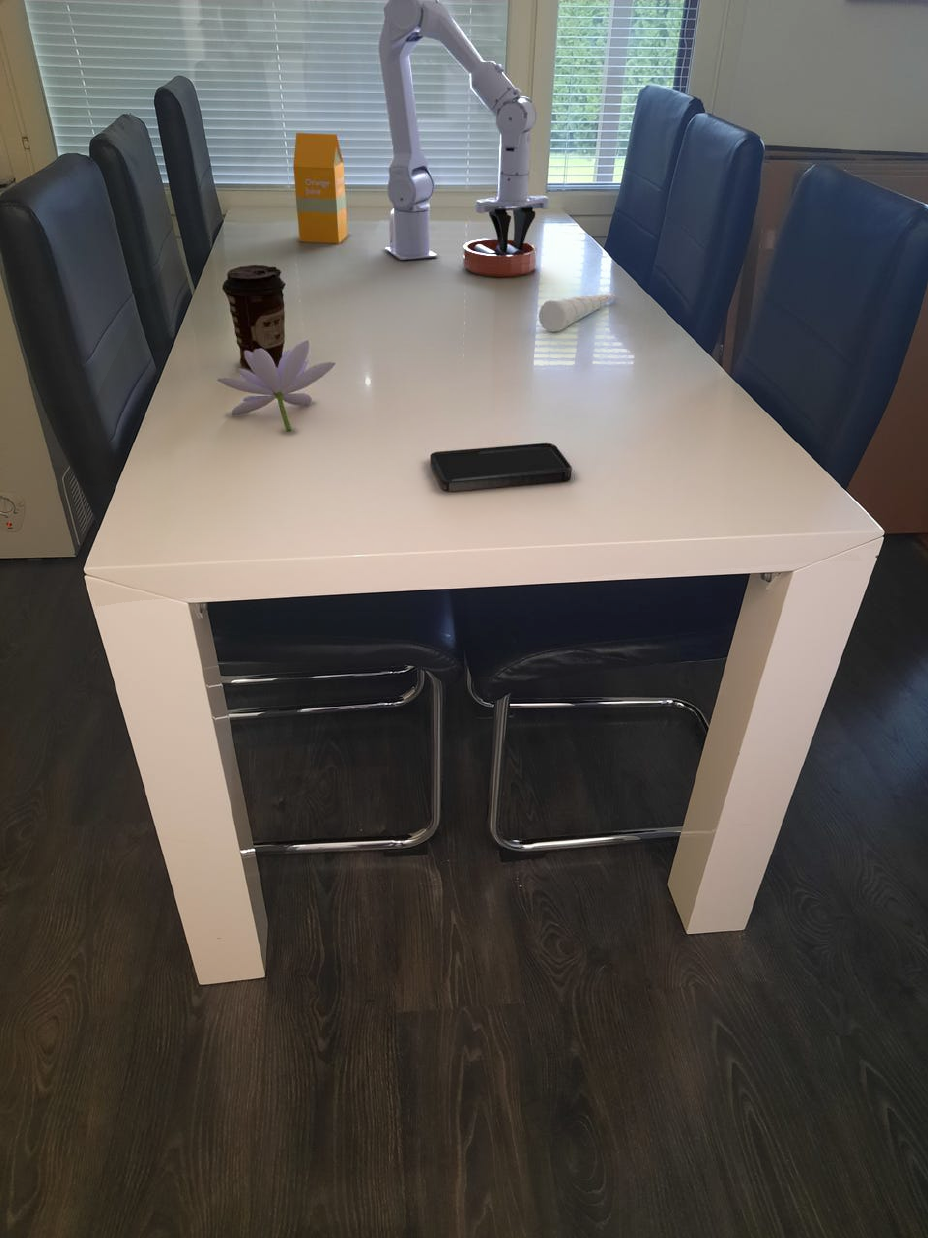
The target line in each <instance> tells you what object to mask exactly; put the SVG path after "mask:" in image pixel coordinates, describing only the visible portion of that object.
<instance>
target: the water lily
mask: <svg viewBox="0 0 928 1238" xmlns="http://www.w3.org/2000/svg"><path fill="white" fill-rule="evenodd" d="M309 350H310V341H309V340H307V339H306V340H304V341H301V342H300V343H299V344H297V345H296V346H295V347H294V348H292V349H288V350H287V351H285V352H284V353H283V354H282V358H281V359H280V362H279V365H278V369H277V368H276V366H275V364H274V361H273V359H272V357H271V356H270V355H269V354H268V353H267V352H266V351H265V350H263V349H261V348H260V349H255V350H254V352H253V353H252V352H250V351H244V355H245V358H246V361H247V363H248V364H249V366H250V368H251V369H252V371H248V370H245V369H244V368H240V367H239V368H236V371H237V372H238V374H240V376H241V377H242V379H241V378H236V377H220V378H217V379H216V381H217V382H218V383H221V384H223V385H225V386H227V387H230V388H231V389H234V390H238V391H241V392H245V393H249V394H256V395H249V396H245V397H244V398H243V399H242V402H241V403H240V404H238V405H237V406H235V407H234V408H233V409H232V411H231V416H238V415H244V414H249V413H252V412H255V411H258V410H260V409H262V408H264V407H266V406H267V405H269V404H270V403H272V402H273V401H274V400H275V399H277V403H278V406H279V410H280V413H281V418H282V421H283V424H284V429H285V431H286V432H292V427H291V424H290V421H289V417H288V414H287V411H286V408H285V404H284V402H285V403H287V404H289V405H293V406H294V405H295V406H305V405H309V404H312V401H313V399H312V396H311V395H310V394H308V393H305V392H299V393H295V392H297V391H299V390H303V389H305V388H306V387H308V386H311V385H312V384H314V383H315V382H318V380H320V379H321V378H323V377H324V376H325V375H327V374H328V372H330V371H331V370H332V369H333V368H334V367H335V365H336V362H332V361H331V362H330V361H329V362H323V363H318V364H315V365H314V366H311V367H309V368H308V369H307V367H308V364H309V362H310V360H309V359H307V358H308V355H309ZM243 378H244V379H243Z"/></svg>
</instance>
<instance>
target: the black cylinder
mask: <svg viewBox="0 0 928 1238" xmlns="http://www.w3.org/2000/svg"><path fill="white" fill-rule="evenodd" d="M472 251H474V252H477V253H482V254H488V255H500V254H499V253H497V252H495V251H493V250H491V249H489V248H488V247H486V246H484V245H482V244H478V245H476V246H475V247H474V248H473V249H472Z"/></svg>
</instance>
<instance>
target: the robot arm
mask: <svg viewBox="0 0 928 1238" xmlns="http://www.w3.org/2000/svg"><path fill="white" fill-rule="evenodd" d="M383 15H384V20H383V24H382V29H381V33H380V36H379V41H378V55H379V63H380V70H381V77H382V83H383V84H382V85H383V90H384V91H383V92H384V98H385V104H386V105H385V106H386V111H387V119H388V126H389V134H390V140H391V148H392V155H393V156H392V158H391V161H390V162H389V163H390V164H389V166H388V183H387V189H386V193H387V197H388V199H389V201H390V203H391V204H392V205H393V208H392V209H391V211H390V213H389V218H388V225H389V226H388V228H389V246H387V247H385V251H387V252H388V253H389V254H391V255H393V257H396V259H399V260H400V261H407V260H420V259H432V258H437V257H438V254H437V253H435V252H433V251H431V245H430V244H431V239H430V238H431V237H430V235H431V234H430V232H431V231H430V230H431V228H430V225H431V221H430V220H431V219H430V212H431V211H430V207H431V206H430V200H431V198H432V197H433V196H434V193H435V189H436V184H435V179H434V177H433V175H432V173H431V171H430V168H429V163H428V162H429V161H428V159H427V158H426V157H425V155H424V154H423V151H422V149H421V141H420V140H421V139H420V133H419V125H418V117H417V116H418V115H417V109H416V101H415V94H414V85H413V77H412V68H411V62H410V61H411V60H410V56H411V53H412V52H413V51H414V49H415V48H416V47H417V45H418V43H420V41H421V40H422V39H424V38H426V39H432V40H435V41H438V42H439V43H440V44H441V46H443V48H445V50H446V51H447V52H448V53H449V54H450V55H451V56H452V58H453V59H454V60H456V62H457V63H458V64H459V65H460V66H461V68H462V69H463V70H464V71H465V72H466V73H467V74H468V75H469V86H470V89H471V90H472V92H473V93H474V94H475V95H476V97H478V99H479V100H480V101H481V102H482V104H483V105H484V106H485V107H486V108H487V110H488V111H489V112H490V113H491V114H492V116H493V117H494V119H495V126H496V128H497V130H498V132H499V134H500V135H499V153H498V154H499V155H498V156H499V157H498V158H499V159H498V180H497V183H498V184H497V197H491V198H485V199H484V198H483V199H476V200H475V212H477V213H478V214H485V213H488V215H489V217H490V220H491V222H492V224H493V227H494V230H495V234H496V239H498V244H499V250H500V251H502V252H507V247H508V239H509V237H508V236H509V229H510V226H511V225H510V224H511V220H512V216H511V215H510V214H509V213H508V212H507V211H512V215H513V224H514V225H513V227H514V232H513V240H514V247H515V248H517V249H519V250H522V246H523V243H524V242H525V239H526V236H527V234H528V231H529V228H530V227H531V224H532V223H533V221H534V220H535V218H536V211H534V209H544V210H545V209H549V197H548V196H545V195H529V186H530V185H529V182H530V166H531V151H532V149H531V148H532V146H531V145H532V144H531V143H532V141H531V140H532V129H533V128H534V126H535V124H536V121H537V109H536V107H535V104H534V103H533V100H532V99H531V98H530V97H527V96H524V95H521V94H522V91H521V89H520V88H519V87H515V86H514V84H512V82H511V81H510V80H509V79H508V77H507V76H506V75H505V74H504V71H505V67H504V66H503V65H502V64H501V63H496V62H495V61H493V60H484V59H483V57H482V56H481V55H480V54H479V52H478V51H477V49H476V48H475V47H474V45H473V44H472V42H471V41H470V39H469V38H468V37H467V36H466V35H465V33H464V32H463V30H462V29H461V27H460V26H459V25H458V23H457V22H456V21H455V19H454V18H453V16H452V15H451V14H450V12H449V10H448V8H447V6H445V5H444V4H443V3H442V2H440V1H439V0H388V1H387V3H386V4H385V6H384V7H383Z"/></svg>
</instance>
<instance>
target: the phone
mask: <svg viewBox="0 0 928 1238" xmlns="http://www.w3.org/2000/svg"><path fill="white" fill-rule="evenodd" d="M429 458H430V459H429V461H430V467H431V470H432V473H433V474H434V476H435V478H436V481H437V483H438V485H439V487H440V489H441V490H443V491H445V492H461V491H470V490H471V491H472V490H481V489H482V490H483V489H493V488H504V487H515V486H527V485H537V484H538V485H539V484H547V483H556V482H557V483H559V482H567V481H569V480H570V479H572V471H573V467H572V465H571V464H570V463H569V462H568V460H567V459H566V457H565V456H564V454H563V453H562V452H561V451H560V449H559V448H558V446H557V445H555V444H554V443H550V442H537V443H526V444H514V445H513V444H512V445H501V446H489V447H478V448H477V447H475V448H466V449H465V448H464V449H452V450H440V451H434V452H432V453H431V454H430V457H429Z"/></svg>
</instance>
